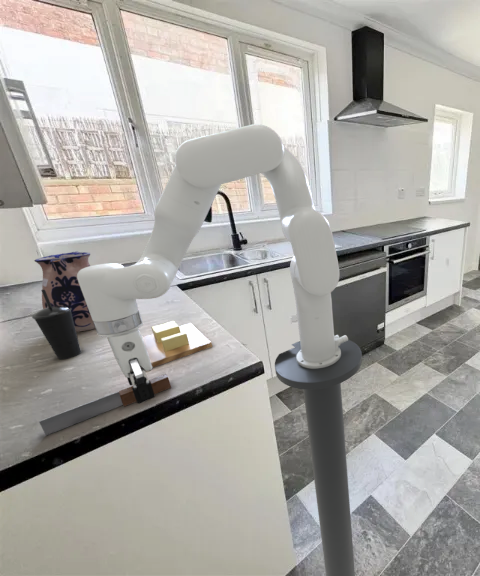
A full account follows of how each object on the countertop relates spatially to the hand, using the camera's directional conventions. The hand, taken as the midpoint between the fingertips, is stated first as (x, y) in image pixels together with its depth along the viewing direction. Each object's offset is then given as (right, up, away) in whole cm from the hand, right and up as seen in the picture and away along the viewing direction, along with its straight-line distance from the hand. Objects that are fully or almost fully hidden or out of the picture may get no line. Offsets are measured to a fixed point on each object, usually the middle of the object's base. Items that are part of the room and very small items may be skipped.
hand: (142, 390), depth 71 cm
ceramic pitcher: (-48, +11, +38) cm, 62 cm away
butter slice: (-5, +6, +19) cm, 21 cm away
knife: (-4, -3, -3) cm, 6 cm away
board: (-9, +6, +23) cm, 25 cm away
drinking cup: (-35, +4, +18) cm, 40 cm away
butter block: (-12, +8, +25) cm, 29 cm away
